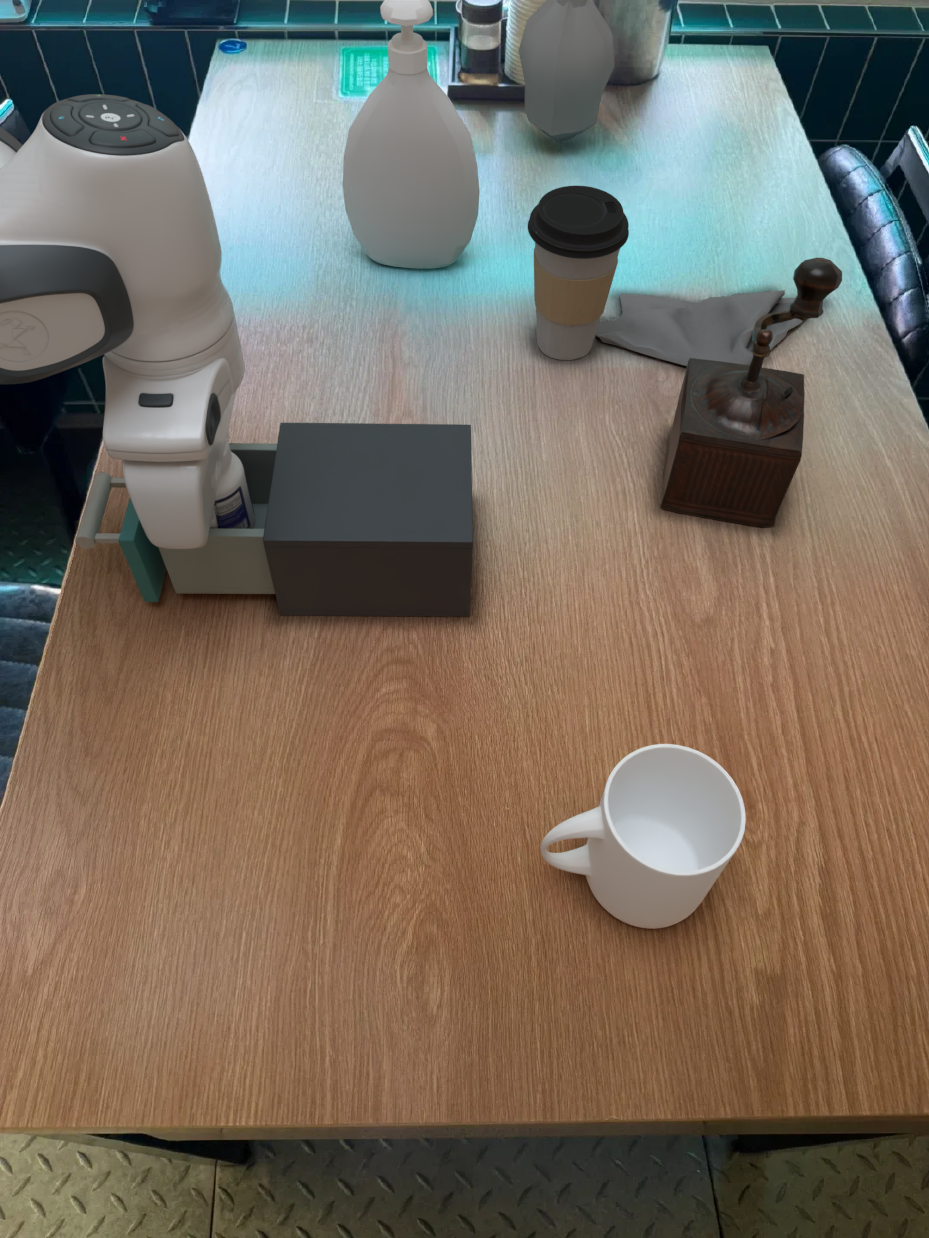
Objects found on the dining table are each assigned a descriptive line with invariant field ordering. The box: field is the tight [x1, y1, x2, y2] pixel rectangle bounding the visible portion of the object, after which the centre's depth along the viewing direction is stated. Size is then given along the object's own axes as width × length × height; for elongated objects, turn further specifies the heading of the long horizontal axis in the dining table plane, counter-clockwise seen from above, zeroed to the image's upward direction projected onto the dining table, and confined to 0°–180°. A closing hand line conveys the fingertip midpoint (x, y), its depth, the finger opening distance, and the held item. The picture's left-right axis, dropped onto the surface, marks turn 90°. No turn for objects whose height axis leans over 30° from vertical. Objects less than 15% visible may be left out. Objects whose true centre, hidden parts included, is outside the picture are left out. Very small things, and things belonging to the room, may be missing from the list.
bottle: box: [518, 0, 615, 144], centre depth 110 cm, size 11×11×30 cm
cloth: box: [595, 289, 804, 367], centre depth 99 cm, size 26×14×2 cm, turn 93°
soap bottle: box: [342, 0, 480, 270], centre depth 96 cm, size 14×8×27 cm, turn 86°
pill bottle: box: [214, 439, 255, 529], centre depth 74 cm, size 5×5×9 cm
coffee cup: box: [527, 185, 630, 361], centre depth 93 cm, size 9×9×15 cm
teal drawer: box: [74, 442, 277, 603], centre depth 77 cm, size 19×11×8 cm, turn 90°
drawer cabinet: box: [263, 422, 474, 618], centre depth 78 cm, size 16×13×10 cm
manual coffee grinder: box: [660, 257, 843, 528], centre depth 82 cm, size 16×11×18 cm
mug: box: [539, 743, 747, 929], centre depth 61 cm, size 9×12×11 cm
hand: (214, 494), depth 75 cm, fingers closed on pill bottle, 5 cm apart
